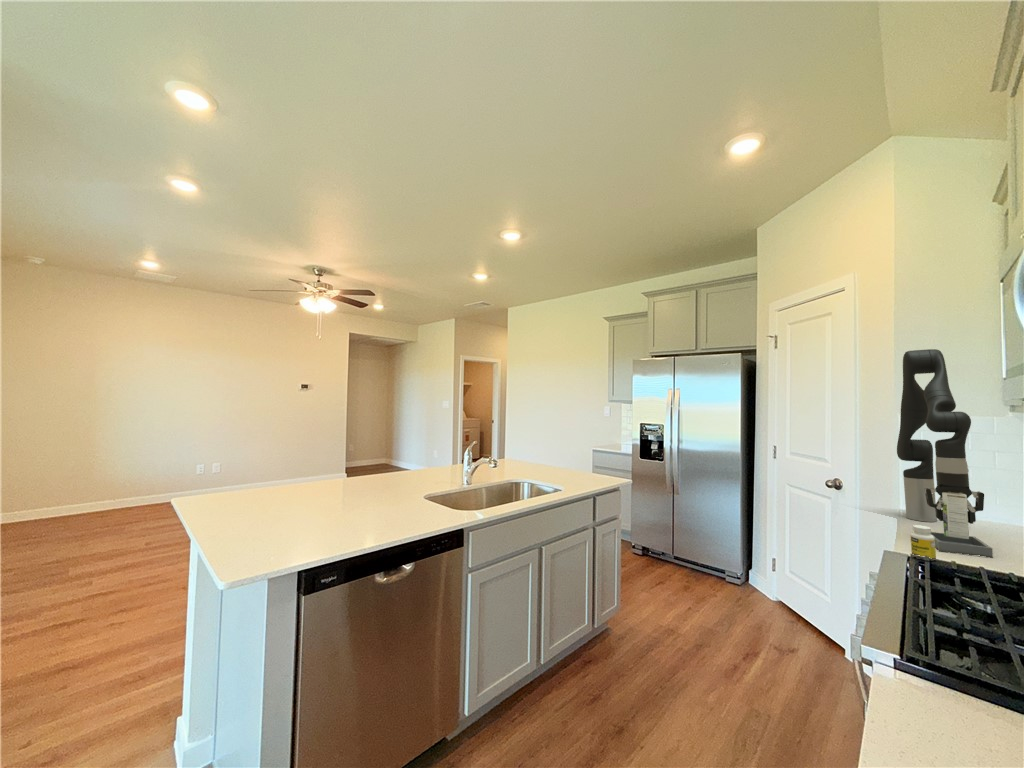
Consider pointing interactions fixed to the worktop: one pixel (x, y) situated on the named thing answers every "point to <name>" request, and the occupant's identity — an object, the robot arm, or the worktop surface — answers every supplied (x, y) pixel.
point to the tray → (961, 545)
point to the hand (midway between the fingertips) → (955, 521)
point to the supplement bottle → (923, 542)
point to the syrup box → (955, 515)
